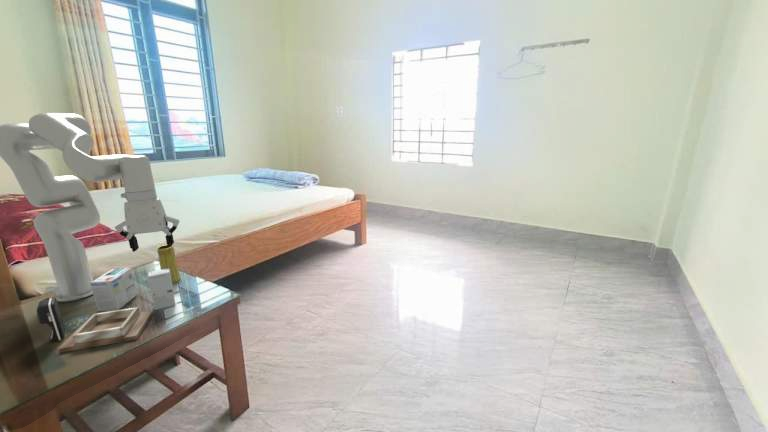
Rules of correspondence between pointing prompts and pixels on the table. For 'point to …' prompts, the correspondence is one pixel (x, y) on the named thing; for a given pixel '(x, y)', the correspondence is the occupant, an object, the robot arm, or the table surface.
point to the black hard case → (51, 318)
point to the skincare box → (161, 288)
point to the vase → (169, 262)
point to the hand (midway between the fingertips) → (153, 248)
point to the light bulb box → (113, 289)
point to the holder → (108, 329)
